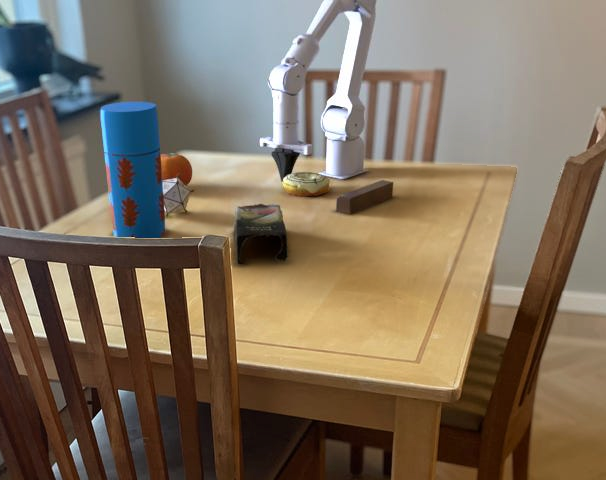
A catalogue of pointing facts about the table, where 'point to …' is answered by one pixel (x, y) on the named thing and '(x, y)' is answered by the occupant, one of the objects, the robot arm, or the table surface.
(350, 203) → the bar
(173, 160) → the fruit
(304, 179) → the decorated donut
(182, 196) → the game die
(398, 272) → the table surface
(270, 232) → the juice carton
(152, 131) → the thermos
